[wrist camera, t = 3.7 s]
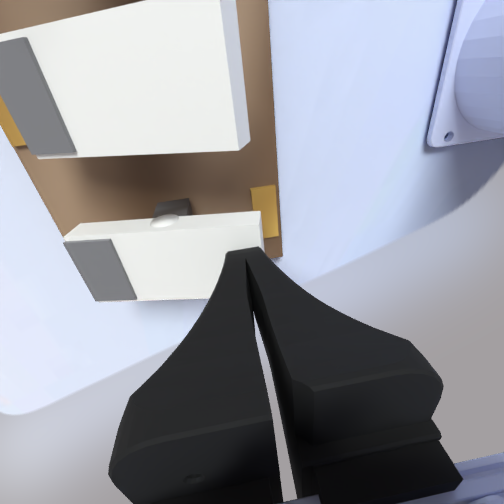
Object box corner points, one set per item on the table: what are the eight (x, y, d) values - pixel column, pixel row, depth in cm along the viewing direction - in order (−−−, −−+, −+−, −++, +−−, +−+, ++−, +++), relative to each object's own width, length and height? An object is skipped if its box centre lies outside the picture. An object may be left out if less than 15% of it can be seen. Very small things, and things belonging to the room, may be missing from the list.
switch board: (260, -40, 11) (277, -75, 8) (279, 247, 18) (291, 276, 15) (-53, -7, 10) (-139, -34, 8) (97, 278, 17) (78, 313, 15)
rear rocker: (260, 207, 12) (258, 226, 10) (267, 275, 14) (266, 298, 12) (83, 220, 13) (60, 239, 11) (114, 282, 14) (97, 304, 13)
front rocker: (238, -5, 7) (214, -18, 6) (252, 138, 9) (237, 152, 8) (21, 41, 10) (-30, 39, 8) (69, 148, 12) (34, 160, 10)
